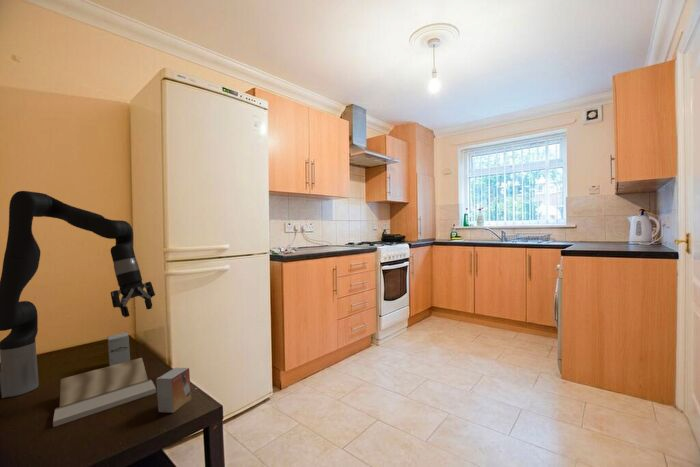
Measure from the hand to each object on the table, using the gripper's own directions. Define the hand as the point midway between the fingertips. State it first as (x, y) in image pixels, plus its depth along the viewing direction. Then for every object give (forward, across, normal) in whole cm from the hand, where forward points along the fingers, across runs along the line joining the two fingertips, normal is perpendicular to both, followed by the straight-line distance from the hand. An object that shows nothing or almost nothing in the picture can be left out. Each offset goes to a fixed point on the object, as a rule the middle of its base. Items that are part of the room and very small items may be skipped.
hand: (138, 312), depth 118 cm
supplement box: (+22, -7, -32) cm, 40 cm away
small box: (+30, +11, +24) cm, 40 cm away
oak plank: (+21, +10, -11) cm, 26 cm away
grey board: (+25, +16, 0) cm, 30 cm away
